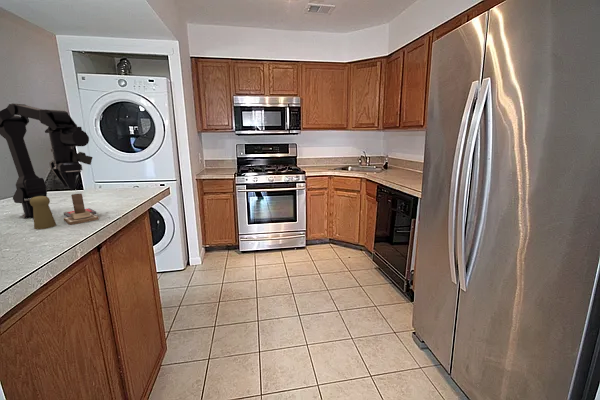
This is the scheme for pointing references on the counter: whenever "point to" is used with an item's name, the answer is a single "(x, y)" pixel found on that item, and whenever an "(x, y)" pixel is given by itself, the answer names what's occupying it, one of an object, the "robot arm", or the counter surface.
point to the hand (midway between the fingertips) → (69, 188)
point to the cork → (42, 213)
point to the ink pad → (74, 211)
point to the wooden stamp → (79, 207)
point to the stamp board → (72, 221)
